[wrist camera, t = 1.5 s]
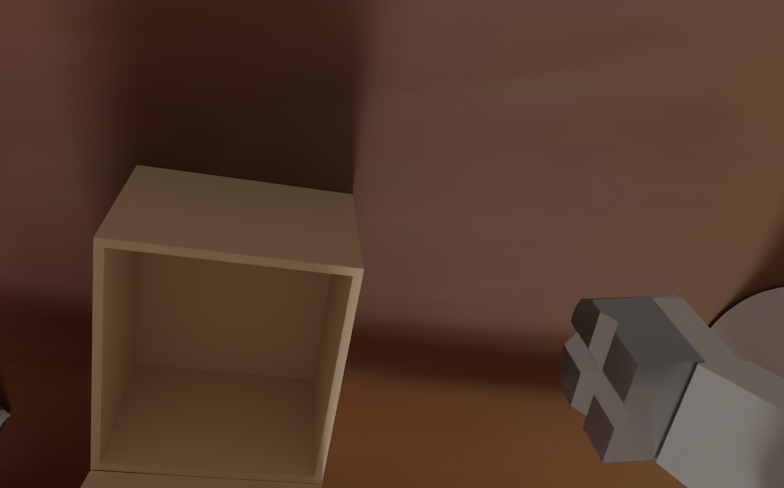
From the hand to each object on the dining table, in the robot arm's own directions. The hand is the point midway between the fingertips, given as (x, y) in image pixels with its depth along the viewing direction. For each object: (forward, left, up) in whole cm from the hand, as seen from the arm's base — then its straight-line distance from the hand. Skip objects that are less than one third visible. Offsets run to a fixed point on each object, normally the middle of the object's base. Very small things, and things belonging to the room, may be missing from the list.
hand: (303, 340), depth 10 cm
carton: (-11, +22, -42) cm, 49 cm away
